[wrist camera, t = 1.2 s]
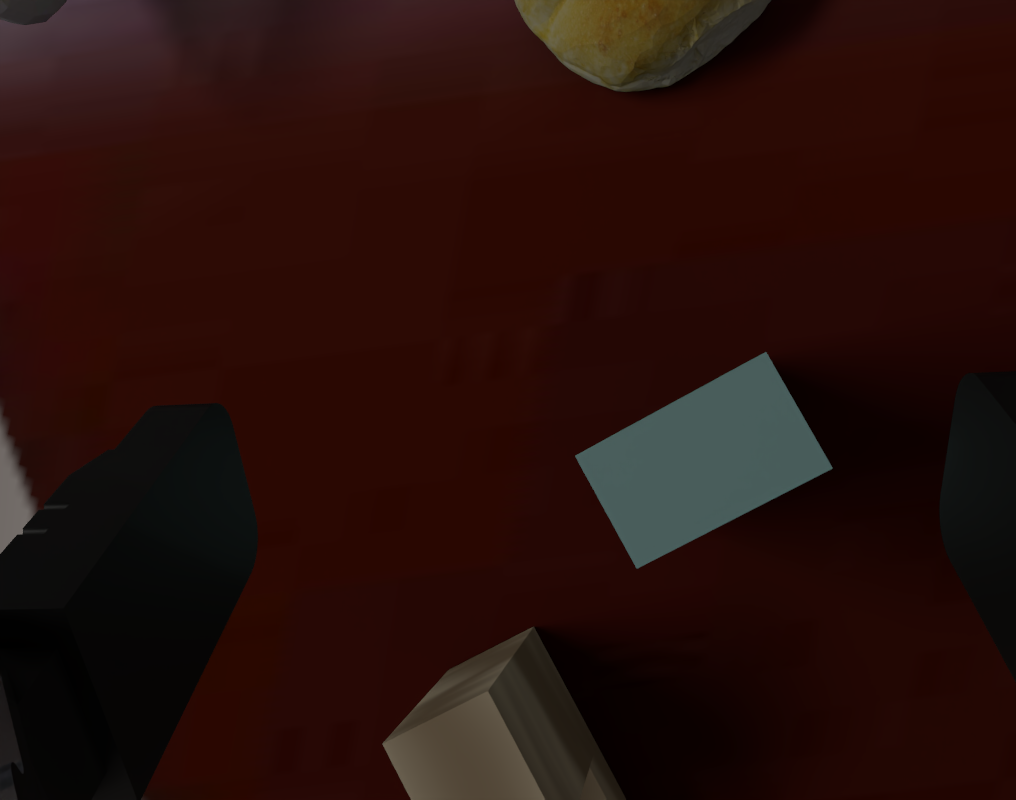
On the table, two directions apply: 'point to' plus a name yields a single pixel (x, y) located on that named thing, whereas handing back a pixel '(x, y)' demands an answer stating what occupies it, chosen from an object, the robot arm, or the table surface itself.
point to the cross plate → (703, 460)
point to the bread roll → (637, 36)
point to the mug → (29, 10)
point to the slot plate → (501, 733)
